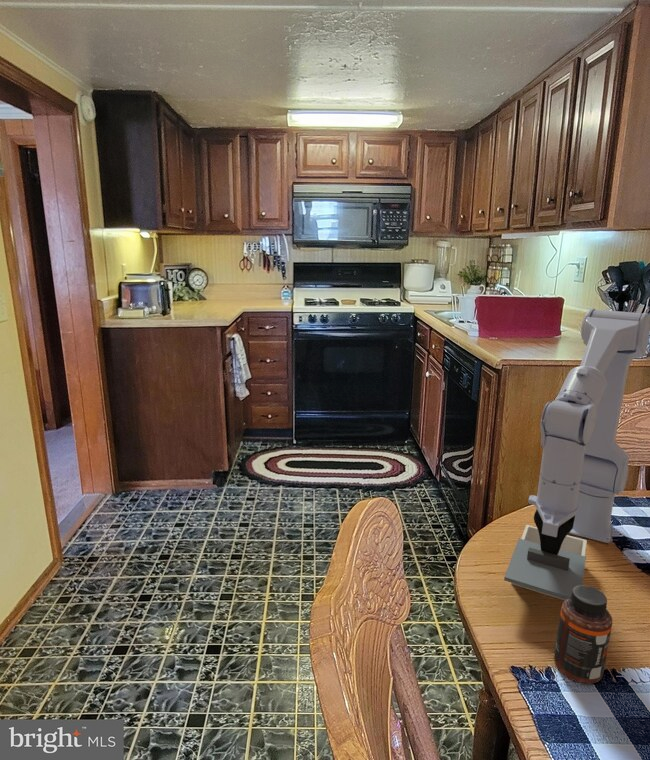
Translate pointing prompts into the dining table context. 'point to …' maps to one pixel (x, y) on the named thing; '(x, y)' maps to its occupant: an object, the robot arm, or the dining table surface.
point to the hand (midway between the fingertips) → (549, 555)
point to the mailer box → (567, 545)
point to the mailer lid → (545, 569)
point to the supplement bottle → (583, 635)
